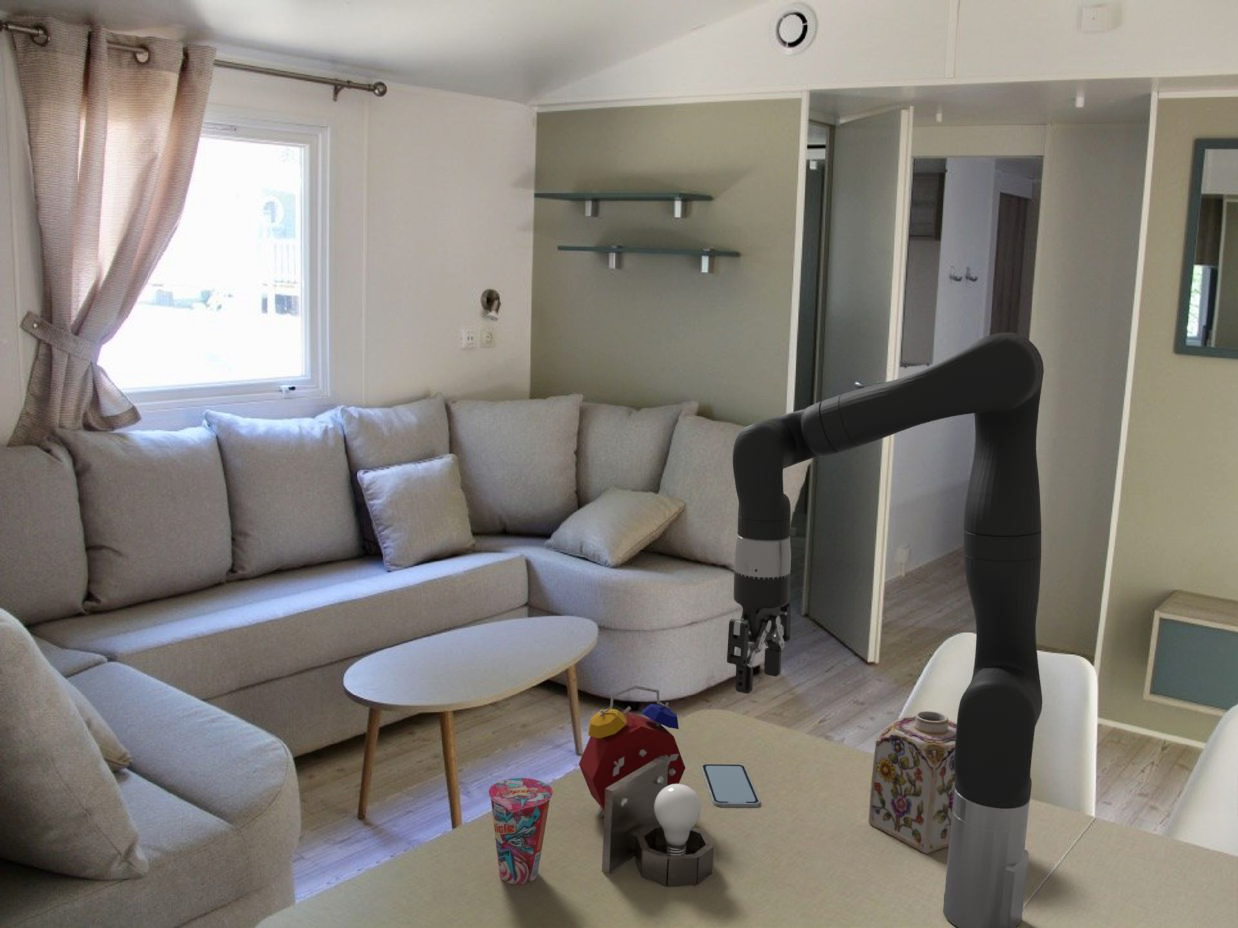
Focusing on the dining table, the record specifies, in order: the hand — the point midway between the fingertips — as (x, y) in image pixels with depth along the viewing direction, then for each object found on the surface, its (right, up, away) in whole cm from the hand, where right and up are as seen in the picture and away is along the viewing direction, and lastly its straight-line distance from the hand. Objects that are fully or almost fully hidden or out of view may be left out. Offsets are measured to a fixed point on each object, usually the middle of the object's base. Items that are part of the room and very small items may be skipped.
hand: (758, 683), depth 169 cm
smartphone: (-1, -22, +27) cm, 35 cm away
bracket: (-12, -25, +1) cm, 28 cm away
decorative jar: (+26, -25, +15) cm, 39 cm away
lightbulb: (-11, -25, 0) cm, 27 cm away
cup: (-32, -25, -3) cm, 41 cm away
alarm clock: (-17, -23, +16) cm, 32 cm away
